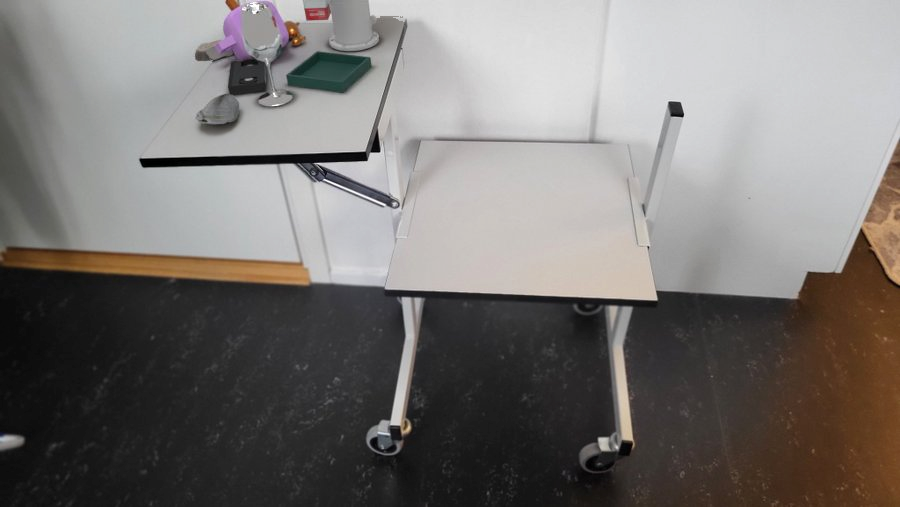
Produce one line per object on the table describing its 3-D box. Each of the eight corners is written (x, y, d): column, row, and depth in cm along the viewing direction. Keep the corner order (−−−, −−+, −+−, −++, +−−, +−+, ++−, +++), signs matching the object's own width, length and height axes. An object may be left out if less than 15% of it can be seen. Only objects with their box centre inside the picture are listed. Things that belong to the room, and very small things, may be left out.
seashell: (214, 107, 143) (208, 85, 140) (250, 108, 142) (245, 86, 139) (190, 134, 134) (183, 111, 131) (229, 135, 133) (222, 112, 130)
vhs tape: (266, 90, 148) (264, 82, 147) (230, 95, 147) (227, 86, 146) (266, 65, 159) (264, 57, 158) (233, 69, 158) (230, 61, 157)
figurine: (284, 54, 167) (320, 35, 171) (279, 41, 164) (315, 22, 168) (262, 43, 174) (297, 25, 178) (257, 31, 172) (292, 12, 176)
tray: (318, 61, 161) (317, 51, 159) (371, 67, 156) (370, 57, 155) (288, 85, 150) (285, 75, 149) (343, 92, 146) (341, 82, 145)
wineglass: (289, 106, 142) (269, 12, 129) (253, 107, 142) (230, 14, 130) (296, 90, 148) (278, -1, 135) (262, 91, 148) (240, 0, 136)
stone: (201, 65, 162) (197, 51, 160) (193, 60, 165) (189, 46, 162) (245, 50, 167) (242, 37, 165) (237, 46, 170) (233, 32, 168)
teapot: (213, 11, 148) (197, 29, 158) (241, 63, 151) (224, 78, 161) (286, -15, 158) (267, 4, 169) (311, 35, 162) (291, 51, 172)
